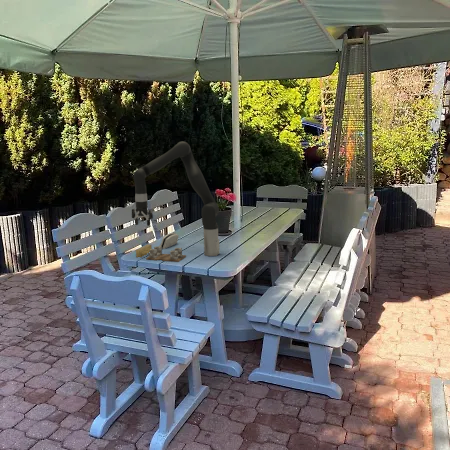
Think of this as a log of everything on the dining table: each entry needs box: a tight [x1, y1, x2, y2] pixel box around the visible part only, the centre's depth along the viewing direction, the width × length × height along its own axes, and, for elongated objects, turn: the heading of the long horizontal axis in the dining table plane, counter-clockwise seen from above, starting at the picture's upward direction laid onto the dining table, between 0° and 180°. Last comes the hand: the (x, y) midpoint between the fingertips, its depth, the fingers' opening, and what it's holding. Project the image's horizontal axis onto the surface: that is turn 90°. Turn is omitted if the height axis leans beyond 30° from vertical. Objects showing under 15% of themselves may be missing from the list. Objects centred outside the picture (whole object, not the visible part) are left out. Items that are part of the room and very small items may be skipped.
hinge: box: [158, 232, 179, 250], centre depth 318 cm, size 17×5×10 cm, turn 153°
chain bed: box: [145, 246, 187, 263], centre depth 288 cm, size 22×12×6 cm, turn 72°
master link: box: [135, 243, 153, 258], centre depth 298 cm, size 15×3×5 cm, turn 160°
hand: (142, 225), depth 295 cm, fingers open, 8 cm apart
